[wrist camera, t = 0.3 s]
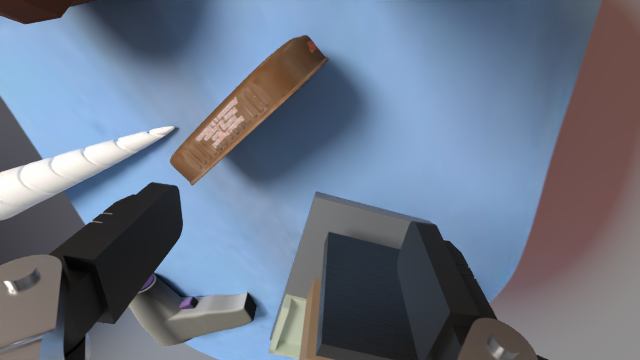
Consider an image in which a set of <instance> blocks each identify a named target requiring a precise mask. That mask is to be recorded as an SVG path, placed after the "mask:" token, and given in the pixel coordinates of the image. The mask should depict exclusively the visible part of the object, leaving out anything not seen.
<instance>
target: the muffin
mask: <svg viewBox="0 0 640 360" xmlns="http://www.w3.org/2000/svg"><path fill="white" fill-rule="evenodd" d="M92 1H96V0H0V16H3V17H6V18H8V19H11V20H14V21H17V22H20V23H23V24H30V23H35V22H40V21H46V20H51V19H56V18H61V17H62V15H63V14H64V13H65V12H66V10H67V9H68V8H69V7H71V6H75V5H79V4H84V3H88V2H92Z"/></svg>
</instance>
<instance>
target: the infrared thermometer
mask: <svg viewBox="0 0 640 360" xmlns="http://www.w3.org/2000/svg"><path fill="white" fill-rule="evenodd" d="M129 307H130V309H131V310H132V312H133V313H134V315H135V316H136V318H137V319H138V321H139V322H140V324H141V325H142V326H143V328H144V329H145V330H147V332H148V333H149V334H150V335H152V337H153V338H154V339H155V340H156V341H157V342H158V343H159V344H160V345H163V346H170V345H176V344H180V343H183V342H186V341H188V340H190V339H192V338H194V337H198V336H202V335H205V334H209V333H213V332H217V331H222V330H227V329H232V328H236V327H240V326H243V325H246V324H248V323H250V322H252V321H253V320H254V316H255V311H256V304H255V303H254V301H253V300H252V298H251V297H250V295H249V293H248V292H246V293H243V294H237V295H209V296H204V297H185V298H181V297H180V296H179V295H178V294H176V293H175V292H174V291H173V290H172V289H170V288H169V287H168V286H167V285H166V284H165V283H163V282H162V281H161V280H160V279H159V278H158V277H157V276H155V275H154V274H152V275H151V277H150V278H149V279H148V280H147V282H146V283H145V284H144V286H143V287H142V288H141V290H140V291H139V292H138V294H137V295H136V296H135V298H134V299H133V300H132V302H131V303H130V304H129Z"/></svg>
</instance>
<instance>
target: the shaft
mask: <svg viewBox="0 0 640 360" xmlns="http://www.w3.org/2000/svg"><path fill="white" fill-rule="evenodd" d="M399 252H400V249H396V248H392V247H388V246H384V245H380V244H376V243H372V242H368V241H364V240H360V239H356V238H352V237H348V236H344V235H340V234H337V233H333V232H328V234H327V237H326V240H325V242H324V255H323V268H322V280H321V293H320V306H319V319H318V331H317V344H316V356H320V357H324V358H329V359H334V360H418V356H417V352H416V348H415V343H414V339H413V335H412V331H411V327H410V322H409V318H408V314H407V310H406V306H405V301H404V297H403V293H402V289H401V285H400V280H399V276H398V271H397V261H398V255H399Z"/></svg>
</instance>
